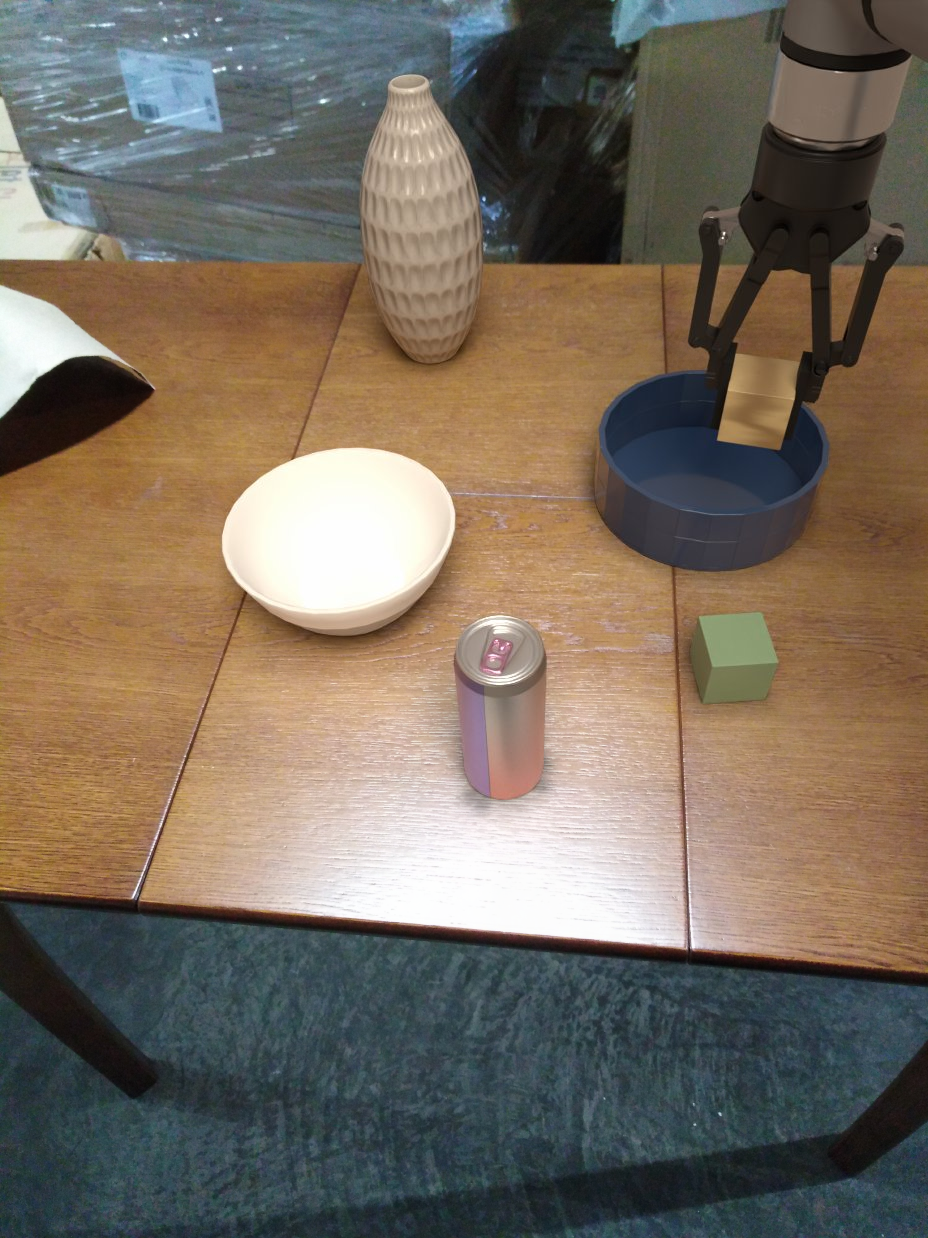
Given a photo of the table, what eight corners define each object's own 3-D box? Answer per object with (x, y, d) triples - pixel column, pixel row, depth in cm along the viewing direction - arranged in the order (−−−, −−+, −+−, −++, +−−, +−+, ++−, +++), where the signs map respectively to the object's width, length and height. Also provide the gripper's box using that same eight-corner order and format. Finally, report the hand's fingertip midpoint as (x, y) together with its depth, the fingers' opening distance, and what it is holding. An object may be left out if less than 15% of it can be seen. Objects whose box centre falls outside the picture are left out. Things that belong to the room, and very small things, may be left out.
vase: (408, 395, 98) (376, 122, 76) (359, 340, 105) (317, 76, 84) (507, 358, 102) (503, 86, 80) (453, 306, 109) (436, 45, 87)
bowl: (252, 524, 86) (230, 458, 80) (452, 504, 87) (446, 436, 80) (237, 688, 74) (210, 626, 68) (471, 664, 74) (466, 599, 68)
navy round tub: (816, 444, 90) (835, 385, 84) (801, 590, 78) (822, 533, 72) (616, 414, 94) (622, 357, 89) (573, 548, 82) (577, 491, 77)
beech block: (785, 412, 75) (799, 361, 71) (779, 450, 72) (794, 399, 68) (724, 403, 76) (735, 352, 72) (716, 440, 73) (727, 389, 69)
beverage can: (452, 789, 67) (437, 671, 55) (481, 726, 70) (472, 602, 59) (528, 814, 65) (529, 698, 54) (553, 748, 69) (559, 625, 57)
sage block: (749, 650, 74) (761, 611, 70) (765, 700, 71) (779, 662, 67) (689, 654, 74) (698, 615, 70) (702, 704, 71) (712, 666, 67)
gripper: (979, 110, 56) (868, 412, 74) (688, 91, 60) (650, 382, 78) (985, 163, 51) (865, 471, 69) (670, 139, 55) (634, 436, 73)
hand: (752, 423), depth 74 cm, fingers closed on beech block, 5 cm apart
